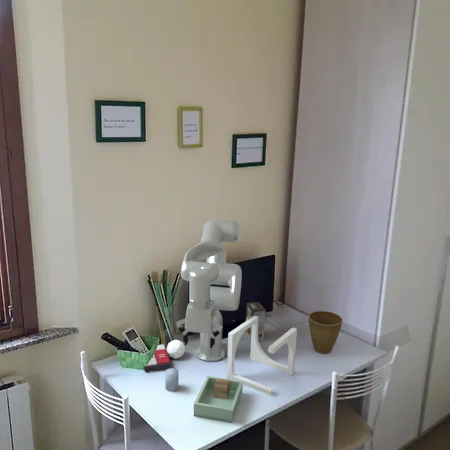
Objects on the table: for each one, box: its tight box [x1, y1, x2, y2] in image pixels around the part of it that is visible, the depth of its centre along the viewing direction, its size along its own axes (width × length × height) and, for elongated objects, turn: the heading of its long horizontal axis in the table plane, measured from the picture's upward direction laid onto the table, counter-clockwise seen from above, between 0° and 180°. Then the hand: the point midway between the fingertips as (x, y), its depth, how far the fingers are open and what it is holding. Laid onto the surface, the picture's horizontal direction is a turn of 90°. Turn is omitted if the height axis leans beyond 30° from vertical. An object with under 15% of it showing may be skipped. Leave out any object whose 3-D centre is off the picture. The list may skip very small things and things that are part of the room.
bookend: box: [226, 315, 298, 397], centre depth 190 cm, size 20×20×20 cm
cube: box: [214, 377, 231, 399], centre depth 176 cm, size 5×5×5 cm
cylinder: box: [164, 367, 180, 393], centre depth 181 cm, size 5×5×7 cm
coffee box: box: [244, 301, 267, 342], centre depth 221 cm, size 9×6×16 cm
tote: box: [193, 375, 244, 424], centre depth 172 cm, size 18×14×5 cm
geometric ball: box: [166, 339, 186, 359], centre depth 203 cm, size 8×8×8 cm
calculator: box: [143, 343, 172, 373], centre depth 200 cm, size 11×4×15 cm
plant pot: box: [308, 310, 344, 355], centre depth 211 cm, size 15×15×16 cm
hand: (199, 345), depth 174 cm, fingers open, 9 cm apart
